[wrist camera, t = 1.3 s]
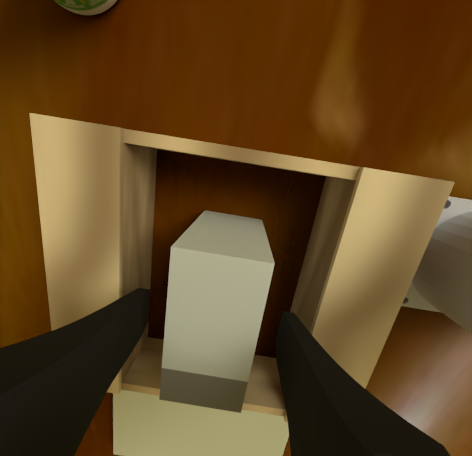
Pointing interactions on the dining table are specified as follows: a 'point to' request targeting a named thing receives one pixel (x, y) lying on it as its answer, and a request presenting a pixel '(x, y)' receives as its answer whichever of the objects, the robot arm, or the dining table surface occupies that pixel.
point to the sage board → (192, 429)
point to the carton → (141, 240)
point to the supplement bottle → (86, 6)
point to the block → (214, 310)
